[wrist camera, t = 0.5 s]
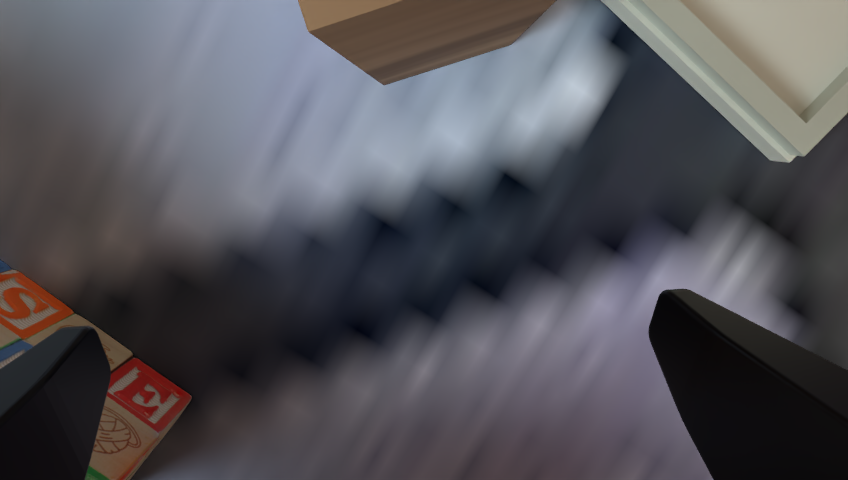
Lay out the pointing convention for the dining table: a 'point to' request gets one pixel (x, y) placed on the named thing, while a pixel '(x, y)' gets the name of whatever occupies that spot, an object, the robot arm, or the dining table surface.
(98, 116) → the dining table surface
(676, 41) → the cream square tray
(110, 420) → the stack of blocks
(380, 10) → the walnut post
